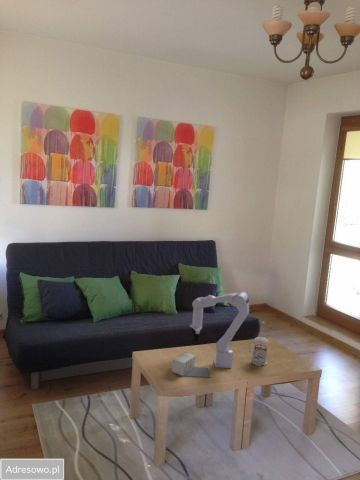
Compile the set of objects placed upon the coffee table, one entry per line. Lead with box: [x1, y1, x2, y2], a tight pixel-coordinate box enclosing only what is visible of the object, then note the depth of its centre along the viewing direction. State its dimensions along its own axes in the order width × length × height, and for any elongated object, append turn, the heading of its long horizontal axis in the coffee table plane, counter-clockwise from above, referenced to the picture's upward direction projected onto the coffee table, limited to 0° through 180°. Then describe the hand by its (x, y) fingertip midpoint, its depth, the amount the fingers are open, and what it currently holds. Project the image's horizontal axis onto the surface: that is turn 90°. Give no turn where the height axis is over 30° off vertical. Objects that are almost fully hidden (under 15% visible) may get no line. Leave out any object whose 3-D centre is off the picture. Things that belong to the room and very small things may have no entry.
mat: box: [175, 366, 211, 379], centre depth 227 cm, size 18×11×1 cm, turn 92°
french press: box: [248, 321, 269, 367], centre depth 244 cm, size 10×12×25 cm
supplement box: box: [171, 351, 196, 377], centre depth 228 cm, size 7×7×13 cm
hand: (195, 341), depth 244 cm, fingers closed
